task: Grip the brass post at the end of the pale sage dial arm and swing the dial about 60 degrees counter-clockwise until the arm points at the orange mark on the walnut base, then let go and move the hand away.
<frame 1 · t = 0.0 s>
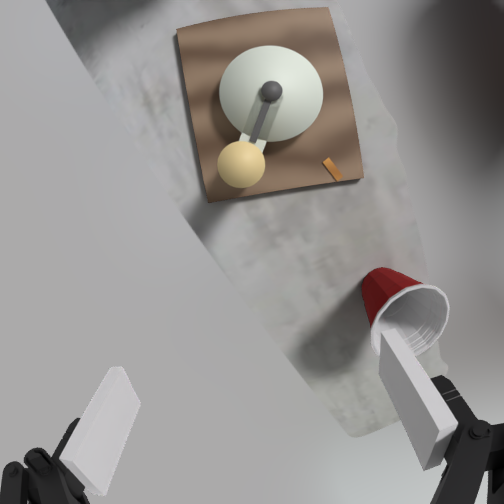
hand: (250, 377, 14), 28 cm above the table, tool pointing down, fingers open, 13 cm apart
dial: (265, 105, 30), point 7 cm above the table, hinge at 0.0°
plastic cup: (379, 286, 43), on the table
base plate: (270, 96, 36), on the table
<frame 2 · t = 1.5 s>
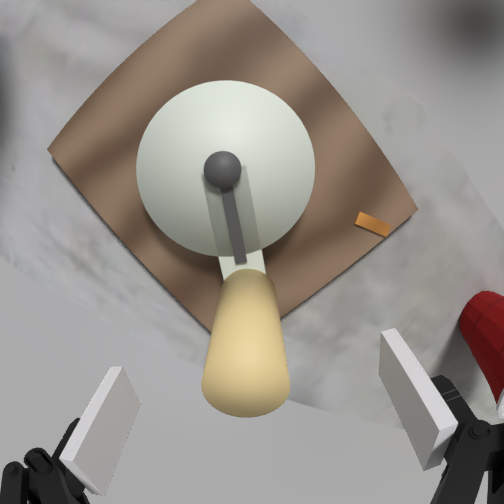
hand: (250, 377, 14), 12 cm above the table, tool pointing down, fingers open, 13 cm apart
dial: (225, 218, 17), point 7 cm above the table, hinge at 0.0°
plastic cup: (477, 314, 28), on the table
base plate: (226, 166, 23), on the table
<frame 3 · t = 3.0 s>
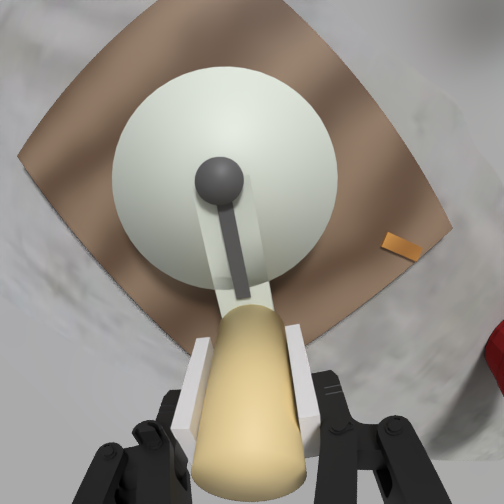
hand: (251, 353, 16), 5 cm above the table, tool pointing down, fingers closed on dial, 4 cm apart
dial: (221, 250, 13), point 7 cm above the table, hinge at 0.1°, touching gripper
plastic cup: (503, 339, 23), on the table
base plate: (225, 176, 19), on the table
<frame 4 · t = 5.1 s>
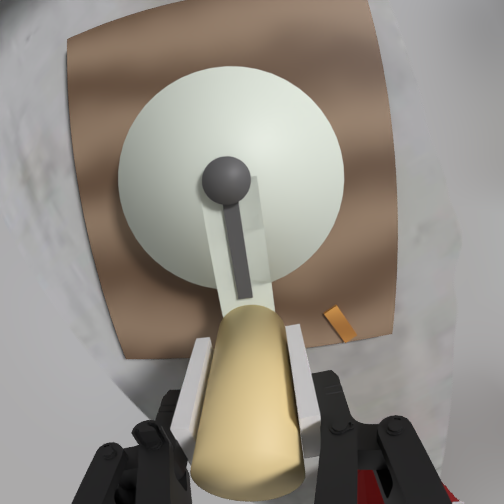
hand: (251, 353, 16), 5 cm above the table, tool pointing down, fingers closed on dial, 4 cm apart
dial: (227, 250, 13), point 7 cm above the table, hinge at 31.0°, touching gripper
plastic cup: (380, 445, 27), on the table
base plate: (232, 175, 19), on the table
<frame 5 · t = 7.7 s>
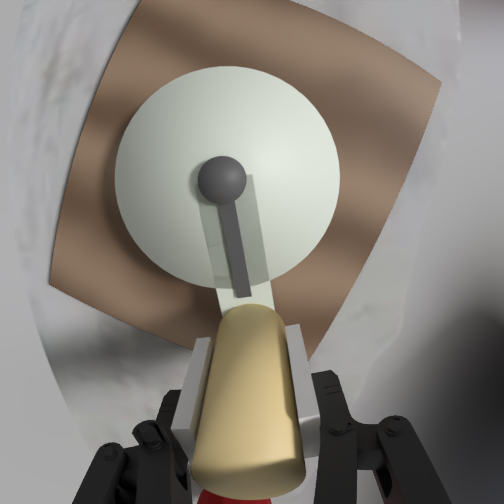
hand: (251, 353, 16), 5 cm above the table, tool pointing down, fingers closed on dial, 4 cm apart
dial: (224, 249, 13), point 7 cm above the table, hinge at 62.2°, touching gripper
plastic cup: (236, 473, 28), on the table
base plate: (228, 175, 19), on the table
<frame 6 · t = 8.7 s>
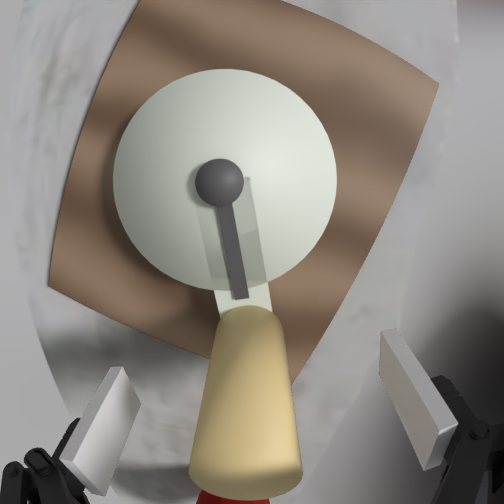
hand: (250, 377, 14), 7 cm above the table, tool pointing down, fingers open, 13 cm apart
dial: (221, 251, 13), point 7 cm above the table, hinge at 62.3°
plastic cup: (235, 474, 28), on the table
base plate: (226, 177, 19), on the table
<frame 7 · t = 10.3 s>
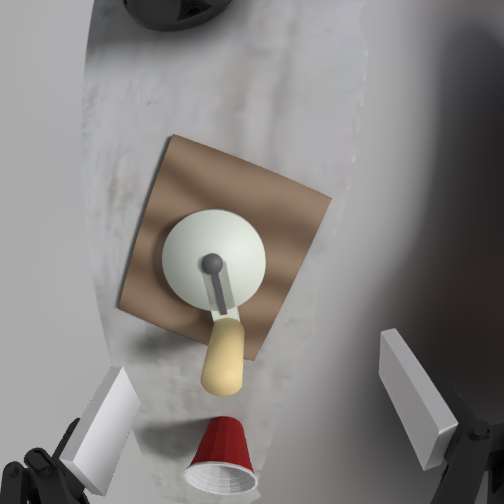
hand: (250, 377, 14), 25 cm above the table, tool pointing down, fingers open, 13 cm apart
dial: (213, 297, 33), point 7 cm above the table, hinge at 62.3°
plastic cup: (225, 427, 47), on the table
base plate: (215, 255, 39), on the table
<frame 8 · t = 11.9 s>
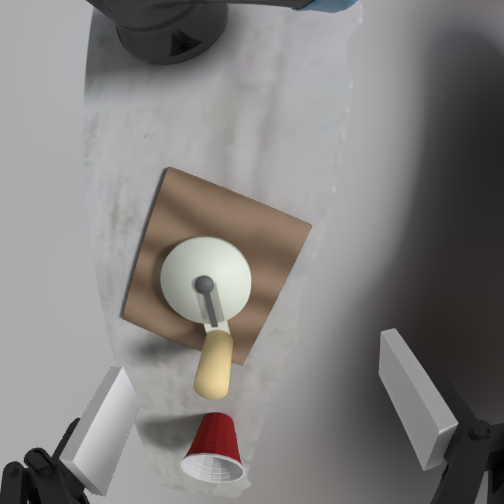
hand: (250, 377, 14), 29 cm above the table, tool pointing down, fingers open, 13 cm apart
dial: (204, 315, 38), point 7 cm above the table, hinge at 62.3°
plastic cup: (218, 421, 53), on the table
base plate: (208, 274, 44), on the table
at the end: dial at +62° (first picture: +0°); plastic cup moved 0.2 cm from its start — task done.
